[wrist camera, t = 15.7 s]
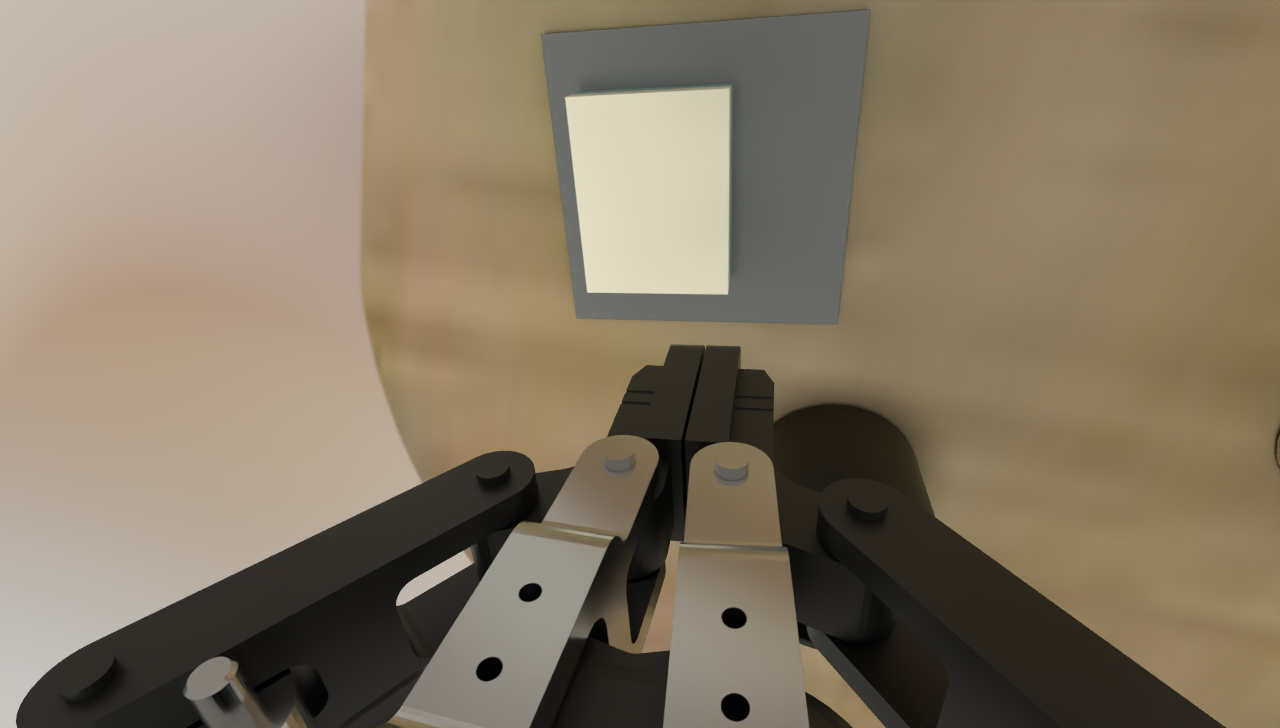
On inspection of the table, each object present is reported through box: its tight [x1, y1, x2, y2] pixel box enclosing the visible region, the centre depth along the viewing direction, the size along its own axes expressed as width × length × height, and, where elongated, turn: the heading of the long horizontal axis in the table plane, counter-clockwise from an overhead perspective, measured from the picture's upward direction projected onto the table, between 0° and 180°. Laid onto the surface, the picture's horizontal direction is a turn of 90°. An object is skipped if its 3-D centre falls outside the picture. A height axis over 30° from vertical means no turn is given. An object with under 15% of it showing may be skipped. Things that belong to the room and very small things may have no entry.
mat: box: [541, 10, 870, 324], centre depth 29 cm, size 14×14×1 cm
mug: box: [773, 406, 935, 649], centre depth 33 cm, size 9×12×9 cm
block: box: [565, 83, 733, 295], centre depth 28 cm, size 2×9×7 cm
